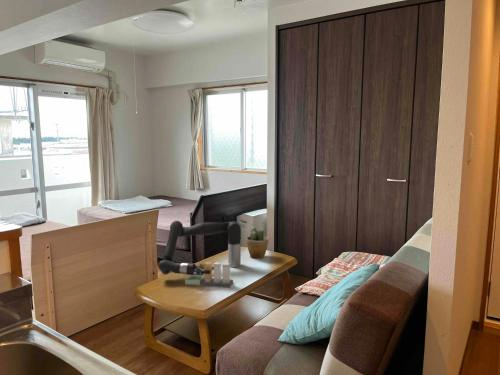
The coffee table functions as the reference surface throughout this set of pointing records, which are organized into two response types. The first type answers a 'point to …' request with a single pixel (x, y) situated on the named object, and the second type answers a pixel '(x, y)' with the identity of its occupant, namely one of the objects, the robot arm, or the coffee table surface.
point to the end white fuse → (226, 271)
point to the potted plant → (257, 243)
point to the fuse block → (217, 283)
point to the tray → (194, 280)
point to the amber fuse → (208, 267)
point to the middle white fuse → (217, 271)
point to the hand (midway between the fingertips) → (211, 270)
